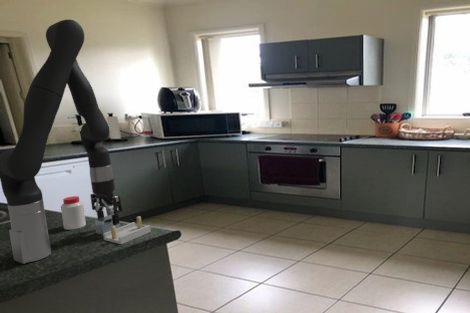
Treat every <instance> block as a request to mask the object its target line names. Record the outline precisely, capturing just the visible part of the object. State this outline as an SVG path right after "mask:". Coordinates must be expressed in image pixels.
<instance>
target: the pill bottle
mask: <svg viewBox="0 0 470 313" xmlns="http://www.w3.org/2000/svg"><path fill="white" fill-rule="evenodd" d="M62 200H63V204H61V206H60V211H61V218H62V224H63V229H64V230H66V231H67V230H68V231H69V230H71V231H72V230H78V229H80V228H83V227H84V226H86V225H87V222H86V215H85V207H84V203H83V201H81V200H80V197H79V195H78V196H76V195H75V196H69V197H64V198H63V199H62Z"/></svg>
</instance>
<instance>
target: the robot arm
mask: <svg viewBox="0 0 470 313" xmlns="http://www.w3.org/2000/svg"><path fill="white" fill-rule="evenodd" d="M45 39H46V41H47V42H46V43H47V44H48V47H49V49H50V53H49V55H48V57H47V58H46V59H45V62H44V63H43V64H42V66H41V67H40V69H39V70H38V72H37V73H36V74H35V76H34V78H33V79H32V80H31V83H30V85H29V89H28V91H27V93H26V97H25V100H24V104H23V112H22V113H23V116H22V117H23V119H22V120H23V121H22V129H21V132H20V135H19V137H18V140H17V143H16V144H15V147H14V148H13V147H12V148H8V149H7V150H5V151H3V152H2V153H1V155H0V184H1V188H2V189H1V190H2V192H3V195H4V197H5V199H6V204H7V209H8V216H9V220H10V221H9V222H10V228H11V229H9V230H8V233H9V237H10V238H9V239H10V243H11V245H10V246H11V249H12V255H13V260H14V261H15V262H18V263H20V264H23V265H24V264H26V263H31V262H35V261H40V260H43V259H44V258H47V257H49V256H50V255H51V254H52V248H51V242H50V237H49V231H48V222H47V217H46V211H45V204H44V198H43V192H42V190H41V188H40V187H39V186H38V184H37V181H36V176H37V175H38V174H39V172H40V170H41V169H42V165H43V160H44V156H45V151H46V147H47V143H48V139H49V136H50V133H51V131H52V127H53V125H54V123H55V120H56V116H57V115H58V111H59V109H60V106H61V103H62V100H63V97H64V93H65V91H66V88H67V86H68V89H69V92H70V94H71V98H72V102H73V103H74V108H75V110H76V112H77V114H78V115H79V116H80V117H82V118H83V119H84V121H85V123H84V124H82V126H81V128H80V129H81V130H80V138H81V140H82V141H81V142H82V143H83V148H84V149H85V152H86V154H87V161H88V166H89V177H90V185H91V192H92V193H91V194H89V195H90V196H89V197H90V202H91V209H92V211H95V213H96V215H97V219H100V218H103V217H105V213H104V208H106V210H107V211H109V212H110V215H111V214H112V221H113V225H117V224H119V223H120V216H119V214H120V213H122V212H123V206H122V200H121V196H120V195H119V194H118V195H114V191H115V190H116V186H115V185H116V184H115V179H114V178H115V177H114V172H113V168H112V163H111V162H112V161H111V158H110V152H109V150H108V149H107V148H105V146H104V144H103V142H105V141H106V140H108V138H109V136H110V128H109V123H108V122H107V120H106V118H105V116H104V114H103V112H102V111H101V109H100V107H99V104H98V101H97V98H96V94H95V92H94V89H93V87H92V85H91V83H90V81H89V80H88V78H87V76H86V75H85V74H84V72H83V70H82V69H81V67H80V65H79V63H78V62H79V61H78V60H77V57H78V56H79V53H80V51H81V49H82V47H83V45H84V43H85V31H84V29H83V26H82V25H81V24H80V23H79V22H77V21H75V20H73V19H64V20H63V19H62V20H60V21H58V22H55V23H54V24H50V25H49V27H48V28H47V29H46V32H45Z"/></svg>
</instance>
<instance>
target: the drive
mask: <svg viewBox="0 0 470 313" xmlns="http://www.w3.org/2000/svg"><path fill="white" fill-rule="evenodd" d="M94 223H95V224H94V225H95V231H96V234H97V235H100V234H101V236H103V234H104V233H106V232H109V231H111V226H115V229H117V228H119V227H121V223H120V222H119V224H117V225H113V221H112V214H111V213H110V214H109V215H106V216H104V217H103V218H100V219H98V218H97V219H95V220H94Z"/></svg>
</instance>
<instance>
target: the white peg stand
mask: <svg viewBox="0 0 470 313" xmlns="http://www.w3.org/2000/svg"><path fill="white" fill-rule="evenodd" d="M136 223H137V225H136ZM142 225H143V224H142V217H141V216H138V215H137V216H136V222H134V221H133V222H130V223H128V224H125V225H122V226H120V227H119V228H117V229H115V226H111V231H109V232H106V233H104V234H103V235H102V236H103V241H106V242H110V243H113V244H118V245H123V244H126V243H128V242H130V241H133V240H134V239H137V238H140V237H142V236H144V235H147V234H148V233H151V232H152V228H151V225H150V224H148V225H145V226H142Z"/></svg>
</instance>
